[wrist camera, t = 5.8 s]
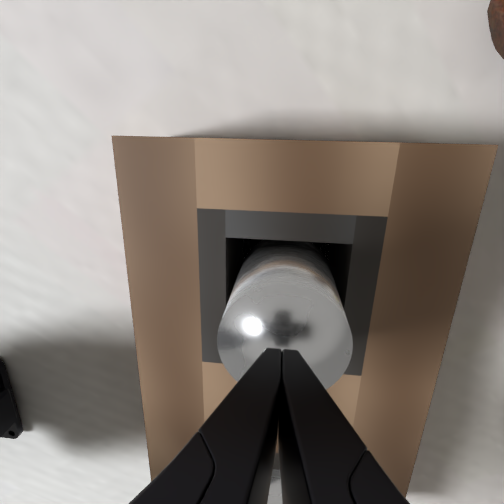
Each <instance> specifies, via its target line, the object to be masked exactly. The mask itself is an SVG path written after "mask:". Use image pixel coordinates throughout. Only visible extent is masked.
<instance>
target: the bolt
mask: <svg viewBox="0 0 504 504" xmlns="http://www.w3.org/2000/svg"><path fill="white" fill-rule="evenodd" d="M487 12H488V20H489V27H490V32H491V37H492V41H493V44H494V46H495V49H496V50H497V52H498V53H499V54H500V55H501V57H502V58H503V59H504V0H491V1H490V4H489V8H488V11H487Z"/></svg>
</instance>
